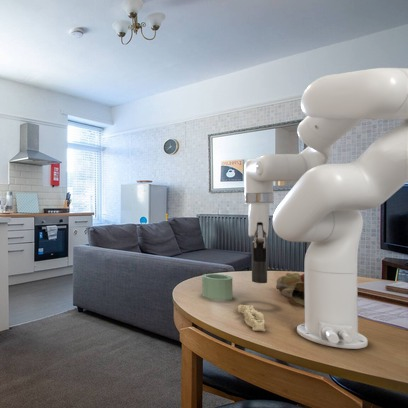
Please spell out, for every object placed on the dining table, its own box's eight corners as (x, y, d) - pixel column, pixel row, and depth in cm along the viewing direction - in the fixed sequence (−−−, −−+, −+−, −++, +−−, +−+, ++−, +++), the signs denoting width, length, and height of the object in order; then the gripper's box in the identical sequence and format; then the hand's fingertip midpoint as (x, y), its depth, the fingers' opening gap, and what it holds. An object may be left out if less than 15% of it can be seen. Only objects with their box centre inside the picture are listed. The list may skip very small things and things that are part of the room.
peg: (267, 283, 97) (267, 243, 97) (252, 282, 98) (251, 242, 98) (266, 281, 100) (266, 241, 100) (251, 279, 102) (251, 241, 102)
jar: (232, 303, 102) (232, 280, 102) (201, 299, 106) (200, 278, 106) (232, 296, 110) (232, 275, 110) (203, 293, 114) (203, 272, 114)
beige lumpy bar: (270, 333, 78) (270, 318, 78) (253, 332, 79) (253, 317, 79) (245, 310, 95) (245, 298, 95) (231, 309, 96) (231, 297, 96)
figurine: (283, 280, 97) (275, 265, 115) (282, 310, 97) (273, 290, 115) (347, 288, 90) (327, 270, 108) (345, 319, 91) (326, 297, 109)
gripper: (244, 199, 108) (244, 255, 108) (245, 199, 94) (245, 264, 94) (271, 199, 105) (271, 257, 105) (276, 199, 90) (276, 266, 90)
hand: (259, 259), depth 99 cm, fingers closed on peg, 4 cm apart
